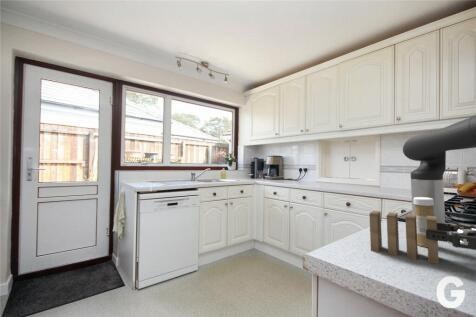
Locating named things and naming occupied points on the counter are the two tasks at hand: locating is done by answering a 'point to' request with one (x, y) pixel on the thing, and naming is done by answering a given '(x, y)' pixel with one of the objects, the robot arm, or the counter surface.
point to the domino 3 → (432, 241)
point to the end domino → (375, 231)
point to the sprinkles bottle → (423, 217)
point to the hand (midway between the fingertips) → (426, 229)
